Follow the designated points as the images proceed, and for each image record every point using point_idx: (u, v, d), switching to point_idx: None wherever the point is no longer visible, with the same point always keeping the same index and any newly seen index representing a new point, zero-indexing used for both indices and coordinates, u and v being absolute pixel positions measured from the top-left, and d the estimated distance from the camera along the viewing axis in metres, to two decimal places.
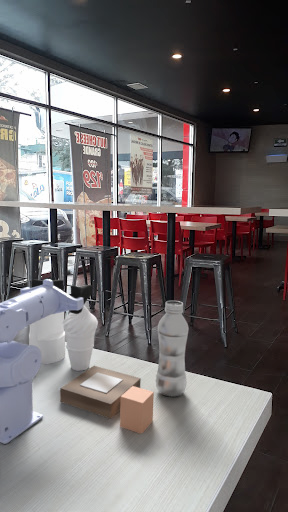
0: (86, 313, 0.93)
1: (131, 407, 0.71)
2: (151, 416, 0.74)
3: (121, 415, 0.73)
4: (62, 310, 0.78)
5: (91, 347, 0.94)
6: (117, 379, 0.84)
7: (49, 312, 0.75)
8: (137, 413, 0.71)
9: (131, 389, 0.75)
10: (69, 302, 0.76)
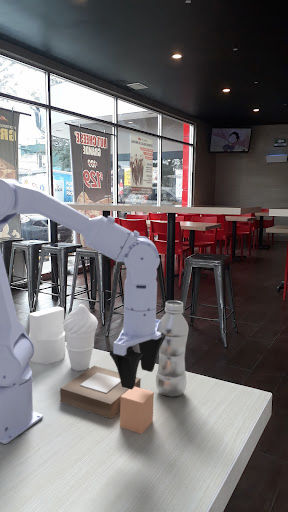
0: (86, 313, 0.93)
1: (131, 407, 0.71)
2: (151, 416, 0.74)
3: (121, 415, 0.73)
4: (121, 335, 0.69)
5: (91, 347, 0.94)
6: (117, 379, 0.84)
7: (126, 319, 0.69)
8: (137, 413, 0.71)
9: (131, 389, 0.75)
10: (126, 341, 0.66)
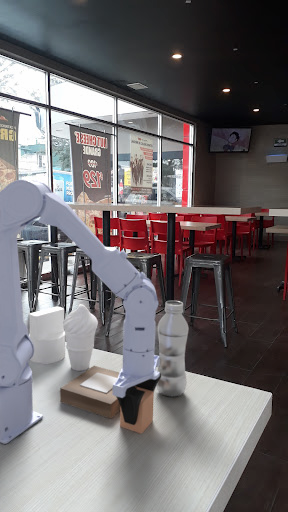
0: (86, 313, 0.93)
1: None
2: (151, 416, 0.74)
3: (121, 415, 0.73)
4: (120, 375, 0.70)
5: (91, 347, 0.94)
6: None
7: (125, 359, 0.70)
8: None
9: None
10: (125, 382, 0.68)
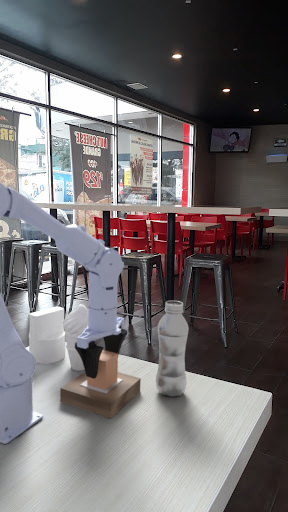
0: (86, 313, 0.93)
1: None
2: (116, 375, 0.83)
3: None
4: (85, 331, 0.79)
5: None
6: (117, 379, 0.84)
7: (90, 317, 0.79)
8: (101, 370, 0.79)
9: None
10: (88, 336, 0.76)
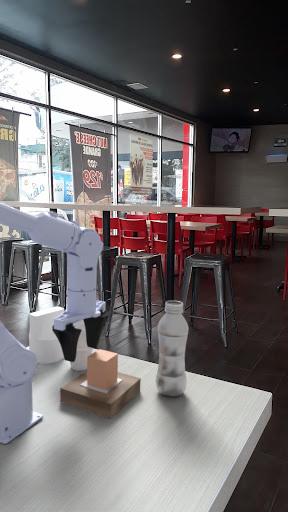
0: None
1: (97, 366, 0.80)
2: (116, 375, 0.83)
3: (88, 373, 0.81)
4: (63, 313, 0.77)
5: None
6: (117, 379, 0.84)
7: (68, 299, 0.77)
8: (101, 370, 0.79)
9: (98, 351, 0.83)
10: (66, 318, 0.74)
